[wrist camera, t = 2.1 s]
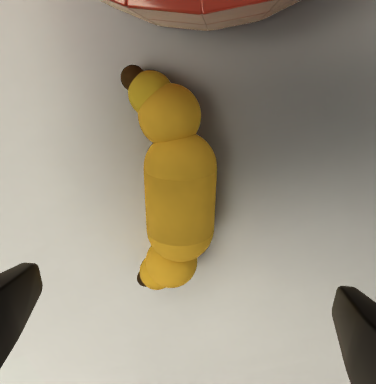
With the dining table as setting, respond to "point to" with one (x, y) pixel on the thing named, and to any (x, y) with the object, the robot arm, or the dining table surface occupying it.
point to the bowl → (200, 12)
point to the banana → (172, 178)
